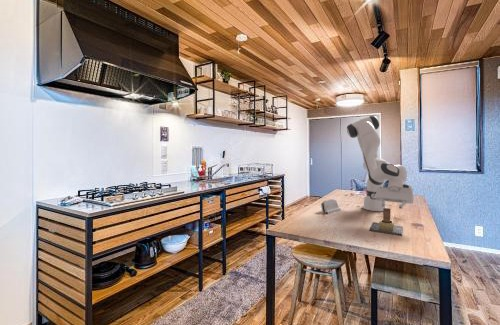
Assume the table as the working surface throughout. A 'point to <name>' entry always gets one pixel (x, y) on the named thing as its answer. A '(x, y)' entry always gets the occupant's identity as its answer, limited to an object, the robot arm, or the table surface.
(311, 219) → the table surface
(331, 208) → the hinge
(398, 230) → the peg socket base
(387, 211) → the rail post
